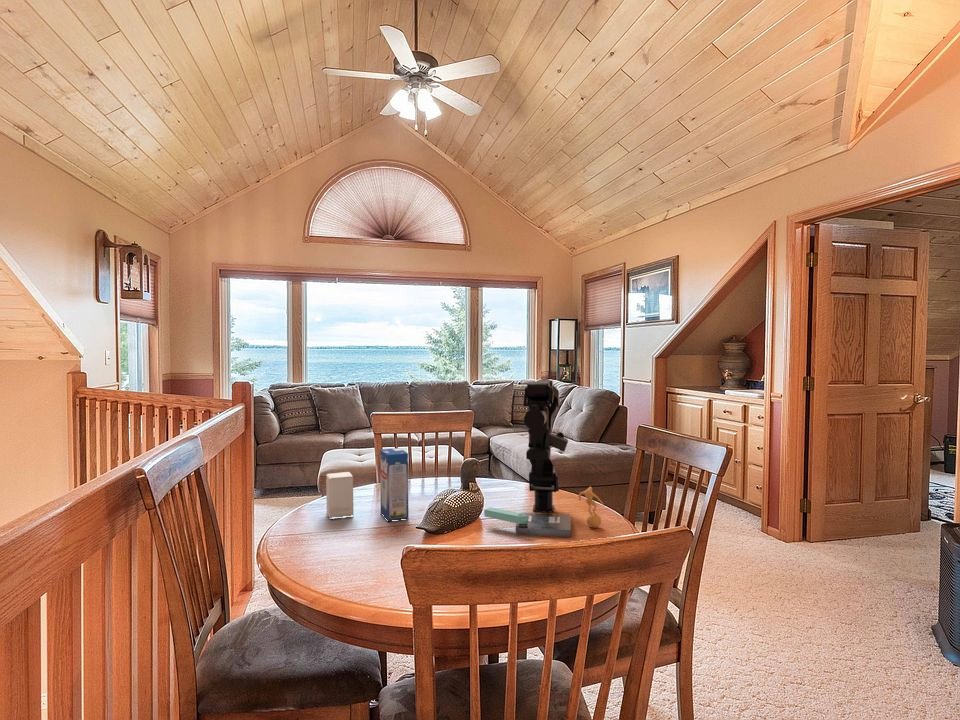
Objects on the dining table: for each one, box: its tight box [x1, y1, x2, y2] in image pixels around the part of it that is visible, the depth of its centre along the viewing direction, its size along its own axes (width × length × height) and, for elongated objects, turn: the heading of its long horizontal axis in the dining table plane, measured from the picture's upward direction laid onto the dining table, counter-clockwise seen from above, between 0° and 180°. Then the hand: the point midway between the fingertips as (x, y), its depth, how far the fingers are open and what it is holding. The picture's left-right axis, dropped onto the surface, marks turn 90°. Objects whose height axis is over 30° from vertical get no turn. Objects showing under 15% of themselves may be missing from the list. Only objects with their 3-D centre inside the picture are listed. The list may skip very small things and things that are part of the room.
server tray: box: [515, 512, 572, 538], centre depth 154 cm, size 14×15×3 cm
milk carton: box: [379, 447, 409, 521], centre depth 165 cm, size 10×6×20 cm, turn 23°
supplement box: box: [325, 471, 354, 519], centre depth 166 cm, size 7×7×13 cm
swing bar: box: [483, 506, 528, 524], centre depth 152 cm, size 13×3×2 cm, turn 55°
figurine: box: [578, 486, 605, 529], centre depth 153 cm, size 8×6×12 cm
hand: (538, 478), depth 159 cm, fingers closed
